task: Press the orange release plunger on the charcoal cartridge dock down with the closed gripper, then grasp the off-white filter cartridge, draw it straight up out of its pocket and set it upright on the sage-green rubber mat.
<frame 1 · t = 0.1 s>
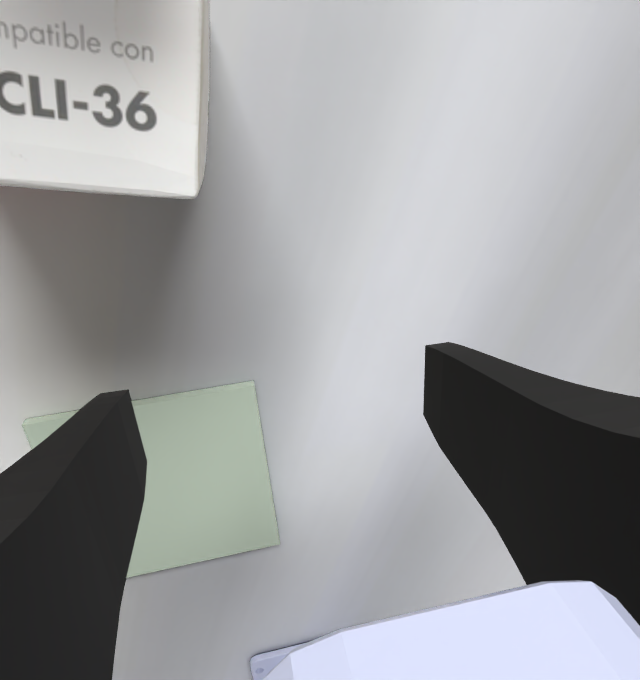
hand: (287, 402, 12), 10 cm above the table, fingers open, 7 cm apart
ink cartridge box: (85, 71, 17), on the table
mat: (167, 485, 24), on the table
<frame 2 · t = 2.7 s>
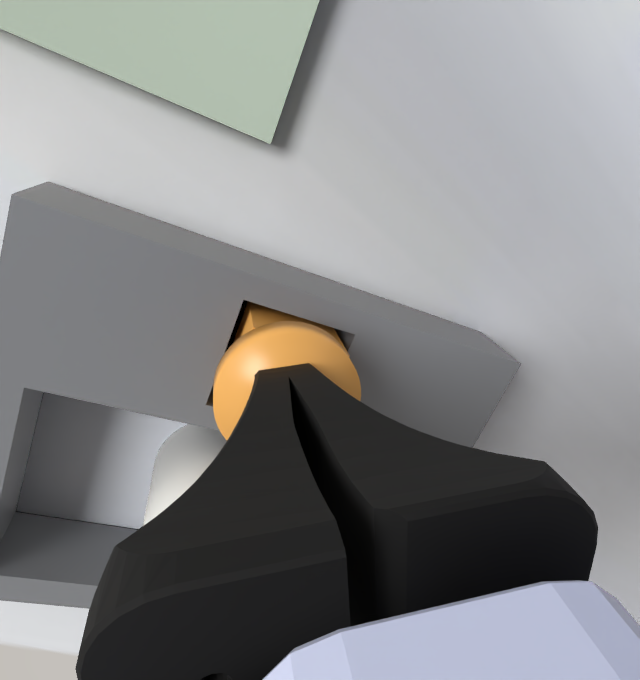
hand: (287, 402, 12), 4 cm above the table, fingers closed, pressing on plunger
plunger: (282, 375, 13), point 3 cm above the table, slide at 0.6 cm, touching gripper
dock: (234, 428, 17), on the table
cartridge: (218, 469, 17), resting in dock
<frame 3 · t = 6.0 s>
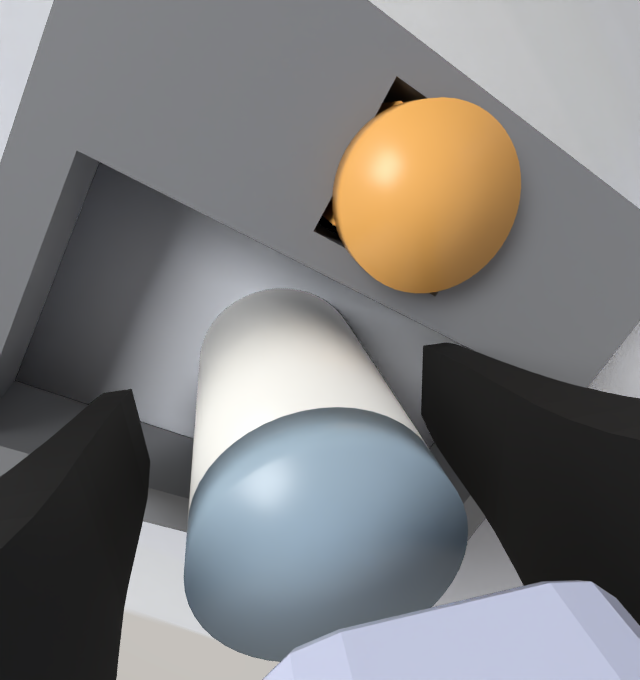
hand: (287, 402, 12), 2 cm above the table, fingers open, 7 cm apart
plunger: (407, 193, 10), point 2 cm above the table, slide at 1.5 cm, touching dock
dock: (310, 309, 13), on the table
cartridge: (279, 363, 14), resting in dock
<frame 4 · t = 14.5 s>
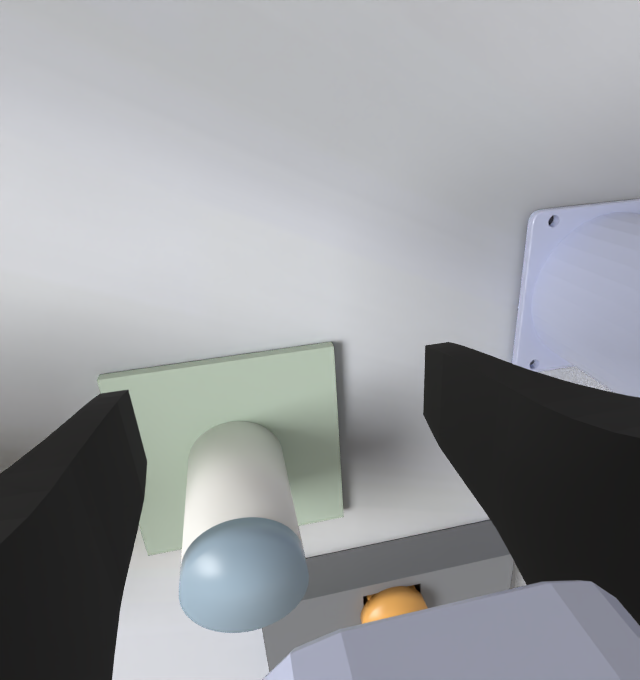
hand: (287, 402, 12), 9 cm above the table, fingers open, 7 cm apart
plunger: (388, 600, 27), point 2 cm above the table, slide at 1.5 cm, touching dock
dock: (379, 614, 30), on the table
cartridge: (236, 460, 23), point 1 cm above the table, touching mat
mat: (235, 450, 23), on the table
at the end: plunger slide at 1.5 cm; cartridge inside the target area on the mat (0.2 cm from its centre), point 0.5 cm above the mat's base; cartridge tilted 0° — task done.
